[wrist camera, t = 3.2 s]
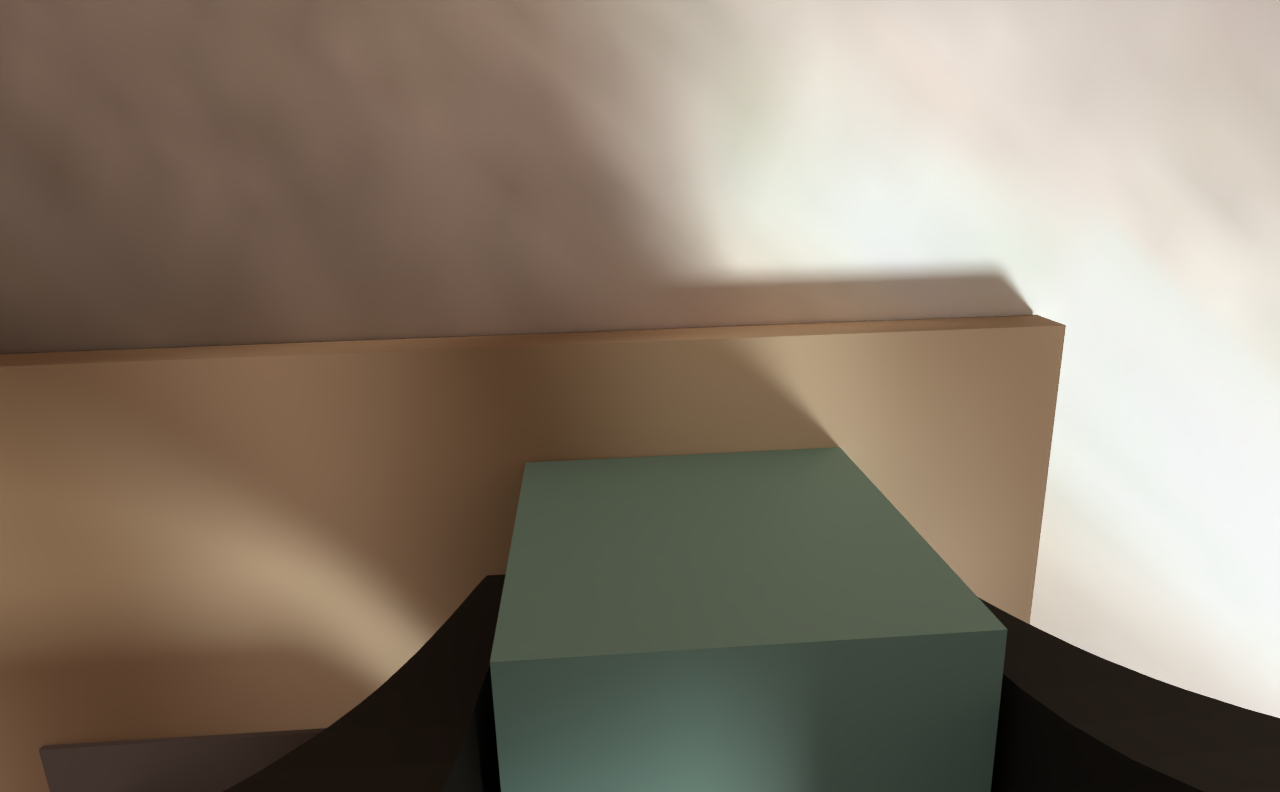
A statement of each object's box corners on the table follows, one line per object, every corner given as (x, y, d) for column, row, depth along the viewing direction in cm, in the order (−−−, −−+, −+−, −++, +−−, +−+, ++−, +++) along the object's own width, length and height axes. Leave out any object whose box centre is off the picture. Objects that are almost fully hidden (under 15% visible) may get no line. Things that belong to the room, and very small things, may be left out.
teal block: (543, 735, 13) (523, 1061, 8) (525, 462, 12) (490, 661, 7) (829, 715, 14) (966, 1020, 9) (839, 446, 12) (1007, 629, 7)
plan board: (95, 1114, 16) (66, 1168, 15) (-130, 358, 12) (-185, 375, 11) (955, 1041, 17) (975, 1088, 16) (1037, 315, 13) (1069, 327, 12)
